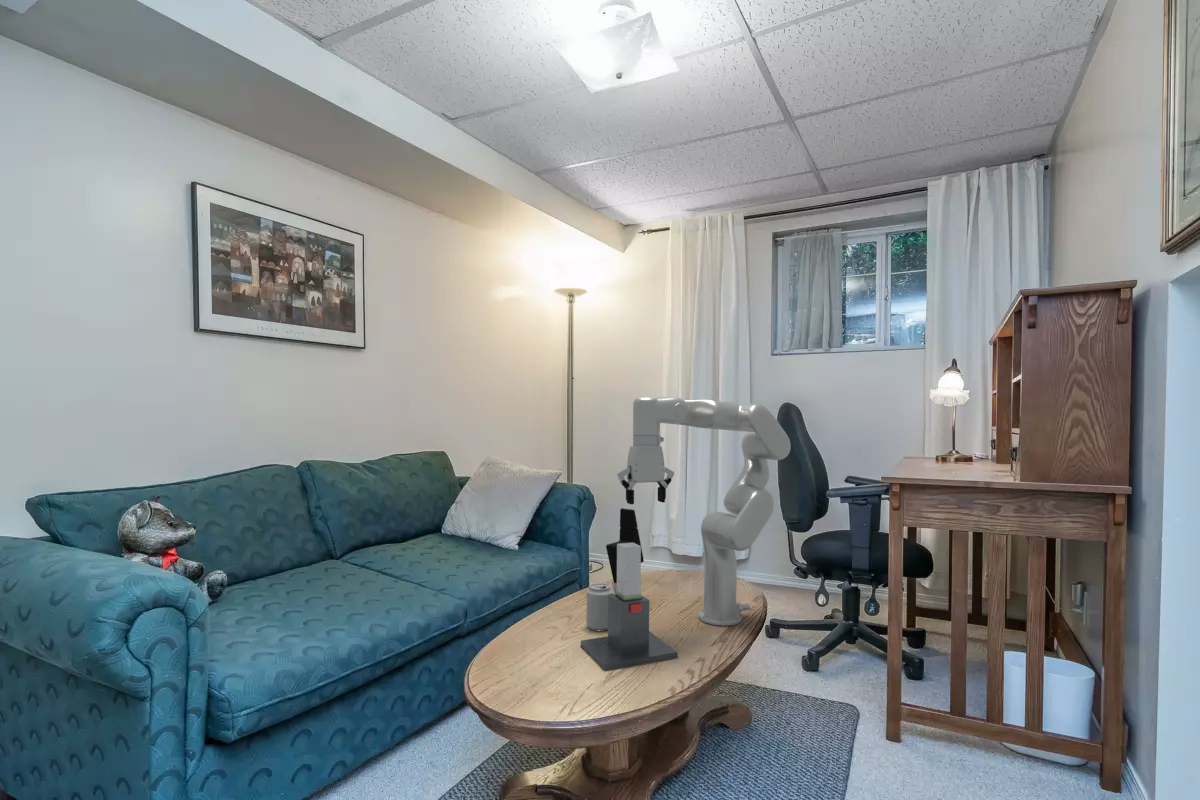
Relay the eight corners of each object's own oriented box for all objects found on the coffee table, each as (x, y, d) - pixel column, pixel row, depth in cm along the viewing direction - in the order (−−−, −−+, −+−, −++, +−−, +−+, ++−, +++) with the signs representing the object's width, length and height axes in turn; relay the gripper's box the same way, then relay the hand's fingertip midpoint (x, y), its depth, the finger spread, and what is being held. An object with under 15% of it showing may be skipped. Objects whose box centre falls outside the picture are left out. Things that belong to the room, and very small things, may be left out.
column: (632, 616, 160) (633, 542, 160) (640, 622, 155) (641, 546, 155) (615, 619, 158) (616, 543, 158) (623, 625, 153) (624, 547, 154)
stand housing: (648, 635, 168) (648, 584, 168) (677, 658, 153) (678, 602, 153) (580, 646, 160) (581, 592, 160) (604, 670, 145) (605, 611, 145)
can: (610, 633, 169) (610, 589, 170) (583, 630, 171) (584, 588, 171) (614, 623, 177) (615, 582, 177) (589, 621, 178) (589, 580, 178)
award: (630, 595, 203) (631, 505, 204) (644, 598, 200) (644, 507, 201) (604, 607, 191) (605, 511, 191) (618, 610, 188) (619, 513, 188)
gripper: (667, 440, 177) (666, 499, 177) (612, 441, 170) (612, 502, 170) (680, 441, 170) (679, 503, 170) (624, 442, 163) (623, 506, 163)
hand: (645, 502), depth 170 cm, fingers open, 9 cm apart
